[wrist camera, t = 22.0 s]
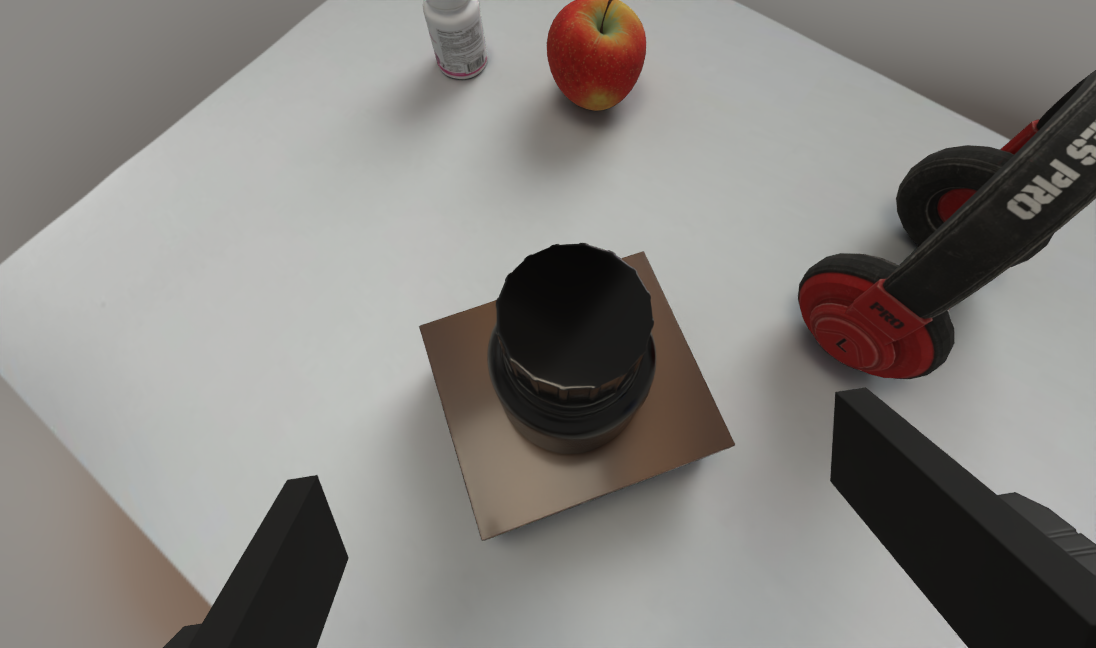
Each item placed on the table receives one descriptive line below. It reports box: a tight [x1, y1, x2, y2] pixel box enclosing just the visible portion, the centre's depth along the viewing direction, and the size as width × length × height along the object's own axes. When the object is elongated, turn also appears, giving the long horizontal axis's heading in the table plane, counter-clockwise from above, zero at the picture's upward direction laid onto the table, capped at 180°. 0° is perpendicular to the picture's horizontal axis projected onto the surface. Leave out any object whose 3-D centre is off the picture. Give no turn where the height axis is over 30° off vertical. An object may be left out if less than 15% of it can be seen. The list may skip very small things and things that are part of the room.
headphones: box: [798, 70, 1096, 379], centre depth 34 cm, size 18×10×20 cm, turn 133°
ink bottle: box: [487, 243, 657, 454], centre depth 29 cm, size 10×9×12 cm
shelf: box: [419, 251, 735, 541], centre depth 38 cm, size 16×14×6 cm
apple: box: [547, 0, 646, 111], centre depth 46 cm, size 8×8×10 cm
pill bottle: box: [423, 0, 488, 79], centre depth 48 cm, size 5×5×8 cm
